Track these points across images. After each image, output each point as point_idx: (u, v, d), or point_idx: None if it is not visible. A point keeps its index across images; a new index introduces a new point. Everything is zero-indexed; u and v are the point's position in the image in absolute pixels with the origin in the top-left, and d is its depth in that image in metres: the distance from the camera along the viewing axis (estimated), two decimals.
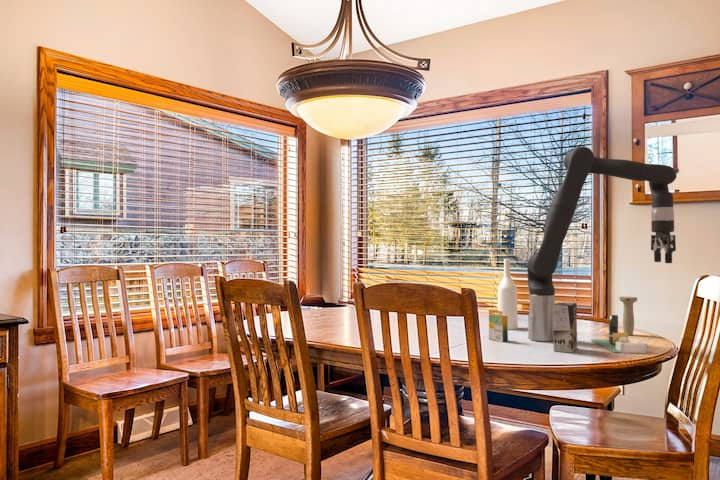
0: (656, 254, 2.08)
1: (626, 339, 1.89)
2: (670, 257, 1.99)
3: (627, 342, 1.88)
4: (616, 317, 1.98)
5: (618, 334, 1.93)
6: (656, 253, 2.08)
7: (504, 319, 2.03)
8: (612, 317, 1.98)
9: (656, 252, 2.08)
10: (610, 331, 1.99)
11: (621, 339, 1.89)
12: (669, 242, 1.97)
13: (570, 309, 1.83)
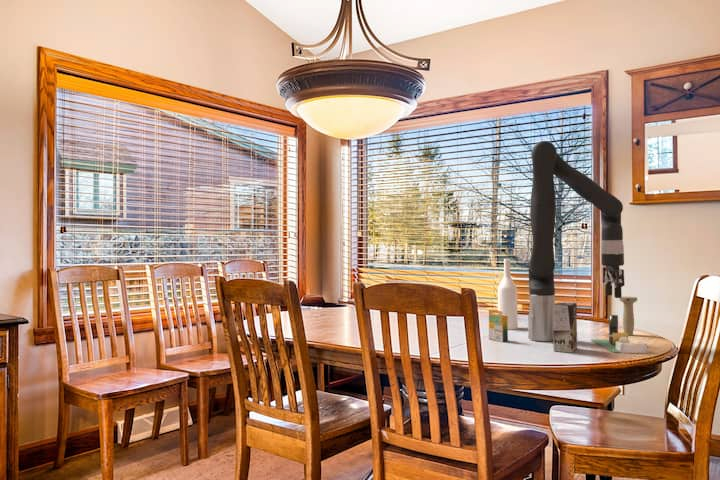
0: (607, 287, 2.03)
1: (626, 339, 1.89)
2: (619, 292, 1.94)
3: (627, 342, 1.88)
4: (616, 317, 1.98)
5: (618, 334, 1.93)
6: (607, 286, 2.03)
7: (504, 319, 2.03)
8: (612, 317, 1.98)
9: (607, 285, 2.03)
10: (610, 331, 1.99)
11: (621, 339, 1.89)
12: (618, 277, 1.92)
13: (570, 309, 1.83)
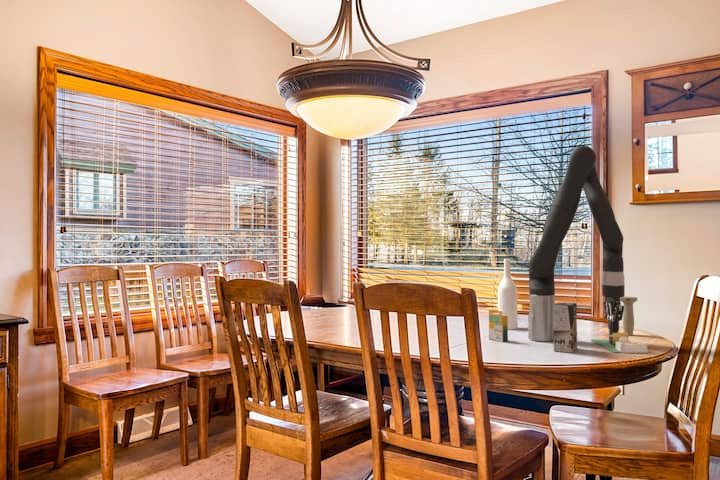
0: None
1: (626, 339, 1.89)
2: (617, 326, 1.96)
3: (627, 342, 1.88)
4: None
5: (618, 334, 1.93)
6: None
7: (504, 319, 2.03)
8: None
9: None
10: (610, 331, 1.99)
11: (621, 339, 1.89)
12: (617, 313, 1.94)
13: (570, 309, 1.83)
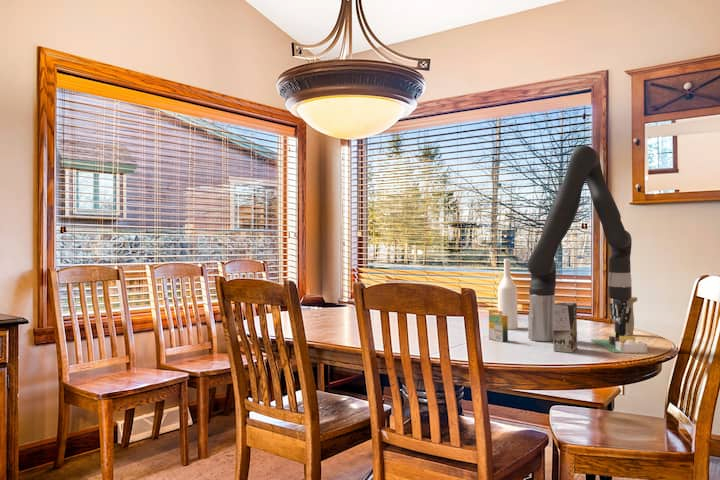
0: None
1: None
2: (624, 328, 1.90)
3: None
4: None
5: (625, 337, 1.87)
6: None
7: (504, 319, 2.03)
8: None
9: None
10: (616, 334, 1.93)
11: None
12: (623, 315, 1.88)
13: (570, 309, 1.83)
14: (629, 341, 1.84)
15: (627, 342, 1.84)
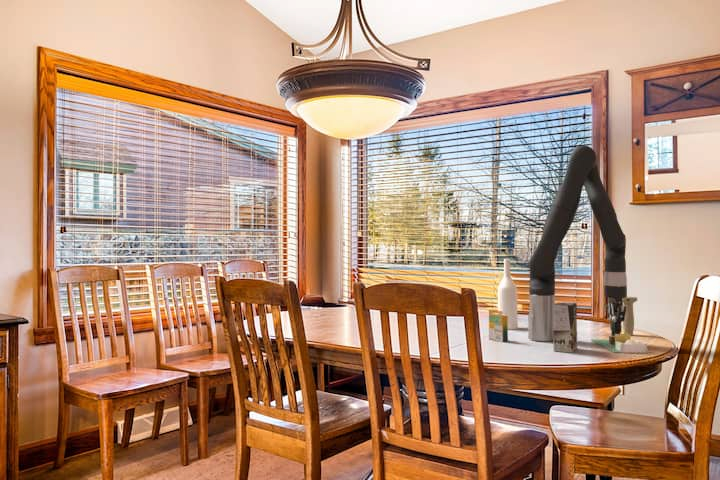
0: None
1: None
2: (619, 327, 1.94)
3: None
4: None
5: (620, 335, 1.91)
6: None
7: (504, 319, 2.03)
8: None
9: None
10: (612, 332, 1.97)
11: None
12: (619, 314, 1.91)
13: (570, 309, 1.83)
14: (630, 342, 1.83)
15: (628, 343, 1.84)
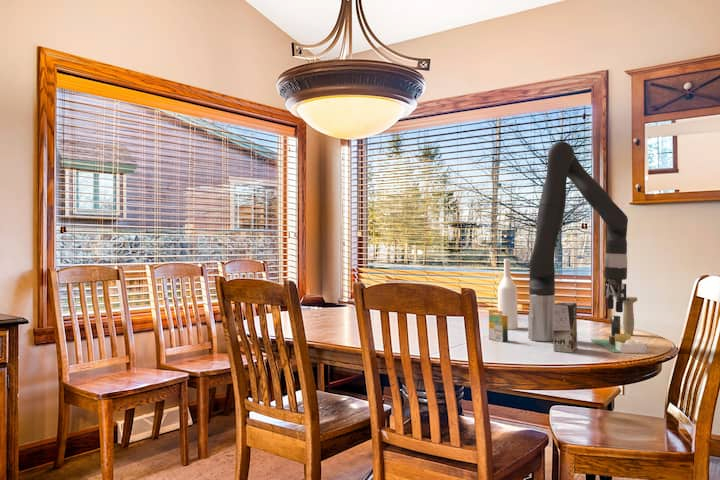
0: (609, 301, 2.01)
1: None
2: (621, 306, 1.92)
3: None
4: (618, 318, 1.96)
5: (620, 335, 1.91)
6: (609, 300, 2.01)
7: (504, 319, 2.03)
8: (614, 318, 1.96)
9: (609, 298, 2.01)
10: (612, 332, 1.97)
11: None
12: (620, 291, 1.90)
13: (570, 309, 1.83)
14: (629, 342, 1.84)
15: (627, 342, 1.84)
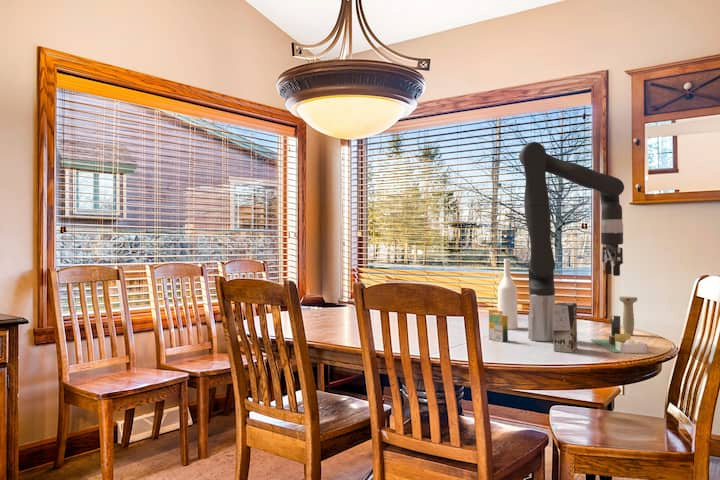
0: (606, 266, 2.07)
1: None
2: (618, 270, 1.98)
3: None
4: (618, 318, 1.96)
5: (620, 335, 1.91)
6: (606, 265, 2.07)
7: (504, 319, 2.03)
8: (614, 318, 1.96)
9: (607, 264, 2.07)
10: (612, 332, 1.97)
11: None
12: (616, 255, 1.96)
13: (570, 309, 1.83)
14: (629, 341, 1.84)
15: (627, 342, 1.84)
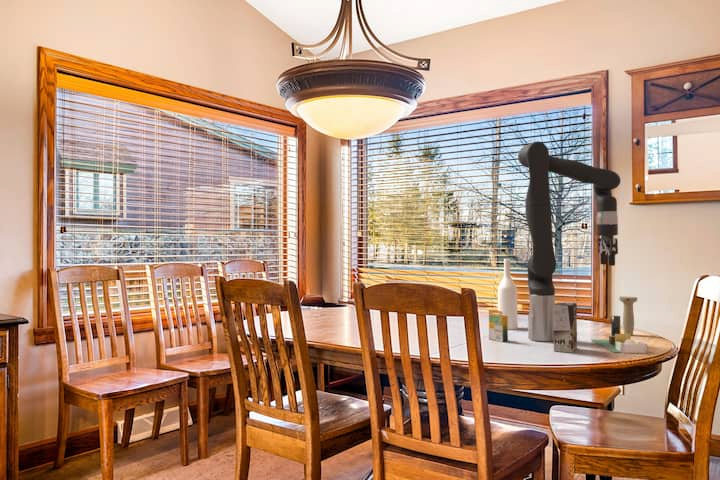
0: (602, 257, 2.15)
1: None
2: (613, 260, 2.06)
3: None
4: (618, 318, 1.96)
5: (620, 335, 1.91)
6: (602, 256, 2.15)
7: (504, 319, 2.03)
8: (614, 318, 1.96)
9: (602, 255, 2.15)
10: (612, 332, 1.97)
11: None
12: (611, 245, 2.04)
13: (570, 309, 1.83)
14: (629, 341, 1.84)
15: (627, 342, 1.84)
